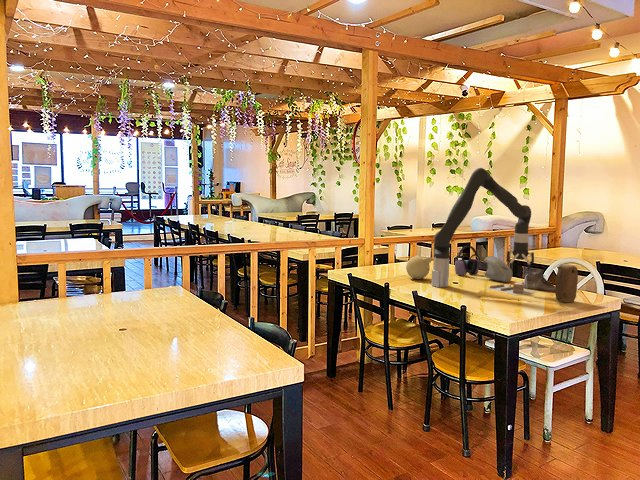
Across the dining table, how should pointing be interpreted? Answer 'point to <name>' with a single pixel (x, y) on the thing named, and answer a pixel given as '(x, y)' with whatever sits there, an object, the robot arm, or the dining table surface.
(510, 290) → the panel
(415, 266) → the toy
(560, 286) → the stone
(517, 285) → the reddish brown block
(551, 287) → the shoe
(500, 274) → the decorative stone
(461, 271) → the headphones
